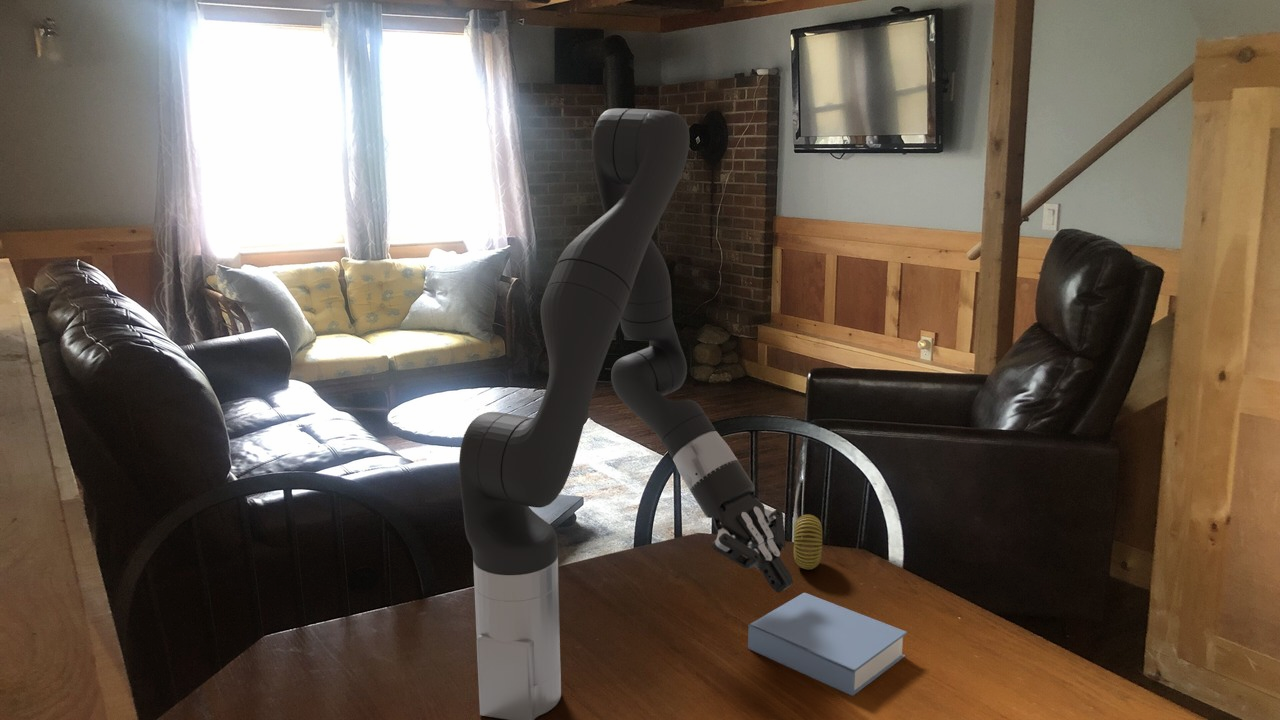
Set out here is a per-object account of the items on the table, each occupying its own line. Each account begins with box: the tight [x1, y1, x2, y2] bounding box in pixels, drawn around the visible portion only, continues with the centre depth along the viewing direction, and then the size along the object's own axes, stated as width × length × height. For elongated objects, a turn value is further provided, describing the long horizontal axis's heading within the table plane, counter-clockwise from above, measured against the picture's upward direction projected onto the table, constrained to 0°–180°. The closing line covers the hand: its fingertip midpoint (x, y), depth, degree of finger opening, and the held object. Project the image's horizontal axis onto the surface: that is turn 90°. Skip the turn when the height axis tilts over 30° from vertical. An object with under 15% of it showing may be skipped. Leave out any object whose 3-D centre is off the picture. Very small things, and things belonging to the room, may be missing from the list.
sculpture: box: [793, 513, 823, 570], centre depth 141 cm, size 8×4×8 cm, turn 171°
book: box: [747, 592, 908, 697], centre depth 118 cm, size 4×12×15 cm
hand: (785, 588), depth 121 cm, fingers closed
